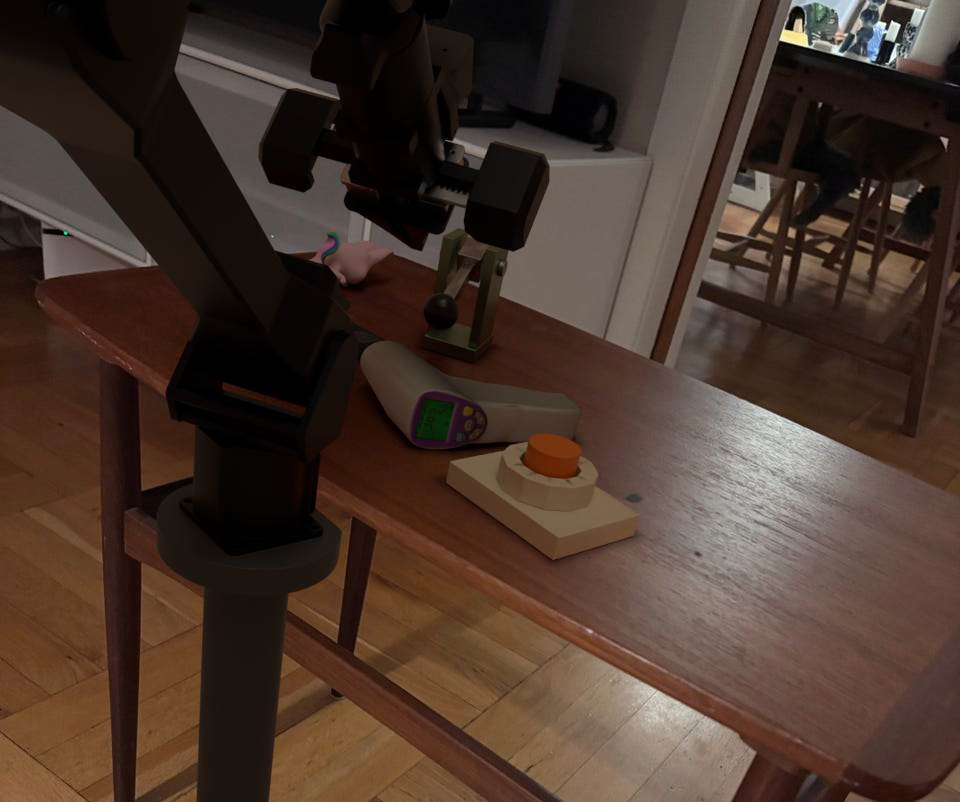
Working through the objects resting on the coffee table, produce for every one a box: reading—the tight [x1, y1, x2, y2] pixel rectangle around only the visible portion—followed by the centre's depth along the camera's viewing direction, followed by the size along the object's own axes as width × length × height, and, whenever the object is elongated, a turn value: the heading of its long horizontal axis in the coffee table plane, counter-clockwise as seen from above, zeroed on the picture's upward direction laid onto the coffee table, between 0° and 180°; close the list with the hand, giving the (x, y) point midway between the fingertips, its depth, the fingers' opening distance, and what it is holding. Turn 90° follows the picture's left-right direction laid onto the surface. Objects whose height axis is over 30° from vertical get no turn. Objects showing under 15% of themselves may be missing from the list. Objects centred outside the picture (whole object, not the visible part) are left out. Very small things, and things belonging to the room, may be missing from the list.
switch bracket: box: [422, 227, 509, 364], centre depth 89 cm, size 6×6×10 cm
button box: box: [445, 442, 641, 561], centre depth 67 cm, size 8×11×4 cm
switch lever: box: [422, 236, 491, 330], centre depth 85 cm, size 11×3×3 cm, turn 163°
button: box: [523, 434, 582, 479], centre depth 65 cm, size 4×4×2 cm
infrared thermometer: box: [359, 340, 583, 450], centre depth 77 cm, size 5×12×15 cm
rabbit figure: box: [309, 230, 395, 288], centre depth 98 cm, size 6×6×15 cm
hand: (419, 244), depth 73 cm, fingers closed
